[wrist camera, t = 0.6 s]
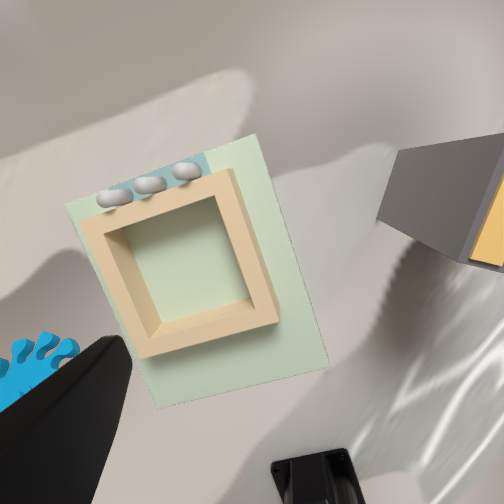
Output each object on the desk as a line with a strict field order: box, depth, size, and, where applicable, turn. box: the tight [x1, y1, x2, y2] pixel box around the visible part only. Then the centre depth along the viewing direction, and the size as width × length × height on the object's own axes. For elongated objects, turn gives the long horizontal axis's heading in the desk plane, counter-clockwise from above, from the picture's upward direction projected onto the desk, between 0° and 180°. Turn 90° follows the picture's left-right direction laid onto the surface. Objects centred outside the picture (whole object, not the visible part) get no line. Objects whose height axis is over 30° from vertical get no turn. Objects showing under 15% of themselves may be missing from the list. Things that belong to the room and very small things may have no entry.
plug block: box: [377, 133, 504, 273], centre depth 17 cm, size 4×4×11 cm
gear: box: [0, 332, 80, 412], centre depth 26 cm, size 11×6×10 cm
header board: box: [65, 134, 330, 409], centre depth 23 cm, size 17×14×4 cm
